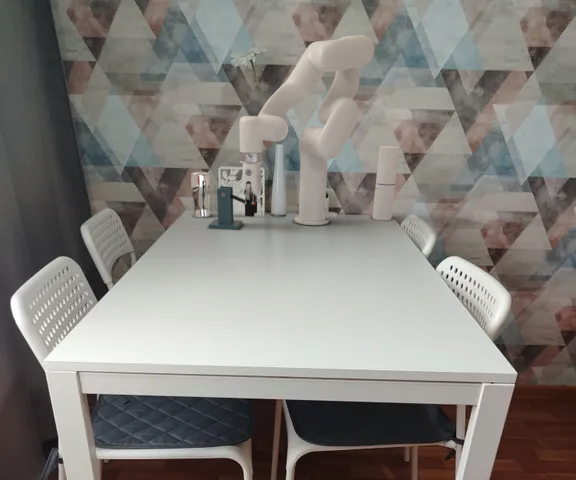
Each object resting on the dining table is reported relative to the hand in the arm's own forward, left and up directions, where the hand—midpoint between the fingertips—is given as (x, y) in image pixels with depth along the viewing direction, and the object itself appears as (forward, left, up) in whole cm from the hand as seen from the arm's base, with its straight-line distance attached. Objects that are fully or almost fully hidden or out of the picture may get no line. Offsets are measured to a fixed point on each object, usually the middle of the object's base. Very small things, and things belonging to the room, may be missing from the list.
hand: (251, 214), depth 189 cm
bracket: (+9, 0, -5) cm, 10 cm away
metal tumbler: (+21, -14, -5) cm, 26 cm away
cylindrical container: (-46, -25, -5) cm, 53 cm away
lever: (+5, 0, +4) cm, 6 cm away
